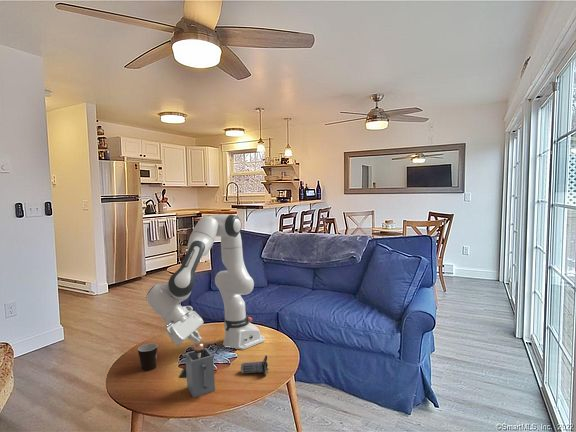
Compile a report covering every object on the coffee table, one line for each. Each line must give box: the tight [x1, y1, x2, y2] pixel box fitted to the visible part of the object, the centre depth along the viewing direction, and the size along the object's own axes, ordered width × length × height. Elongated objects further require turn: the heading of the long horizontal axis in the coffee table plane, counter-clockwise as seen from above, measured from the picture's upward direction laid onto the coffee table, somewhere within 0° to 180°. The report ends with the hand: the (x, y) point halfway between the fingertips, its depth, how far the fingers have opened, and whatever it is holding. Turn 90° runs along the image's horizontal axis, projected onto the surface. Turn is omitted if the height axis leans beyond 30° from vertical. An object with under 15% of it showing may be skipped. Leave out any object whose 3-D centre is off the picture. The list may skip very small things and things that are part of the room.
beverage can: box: [240, 355, 269, 378], centre depth 161 cm, size 9×8×12 cm
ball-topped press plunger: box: [193, 341, 204, 359], centre depth 148 cm, size 6×6×14 cm
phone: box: [180, 364, 187, 379], centre depth 166 cm, size 8×1×15 cm
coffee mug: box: [137, 342, 158, 372], centre depth 170 cm, size 12×9×10 cm
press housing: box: [184, 347, 216, 398], centre depth 148 cm, size 9×12×15 cm
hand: (199, 341), depth 147 cm, fingers closed
